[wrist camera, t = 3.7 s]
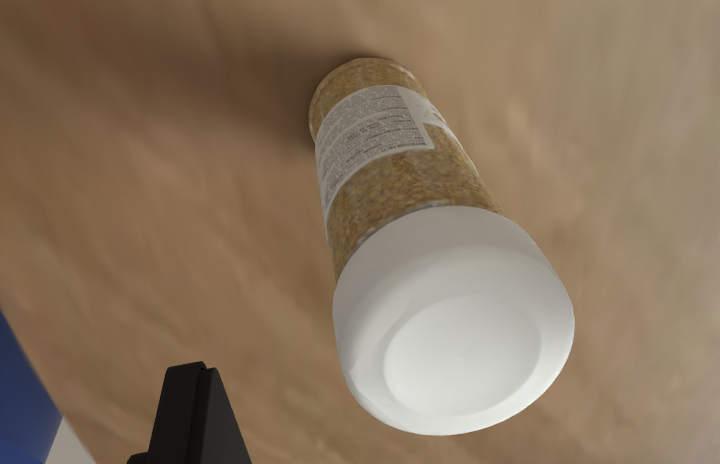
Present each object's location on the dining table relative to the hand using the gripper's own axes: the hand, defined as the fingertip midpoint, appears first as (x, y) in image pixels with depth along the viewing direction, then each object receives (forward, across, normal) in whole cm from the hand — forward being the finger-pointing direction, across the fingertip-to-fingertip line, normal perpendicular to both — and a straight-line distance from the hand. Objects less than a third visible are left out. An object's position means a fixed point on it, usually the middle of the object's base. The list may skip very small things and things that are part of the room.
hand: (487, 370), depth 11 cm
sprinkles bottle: (+14, 0, 0) cm, 14 cm away
